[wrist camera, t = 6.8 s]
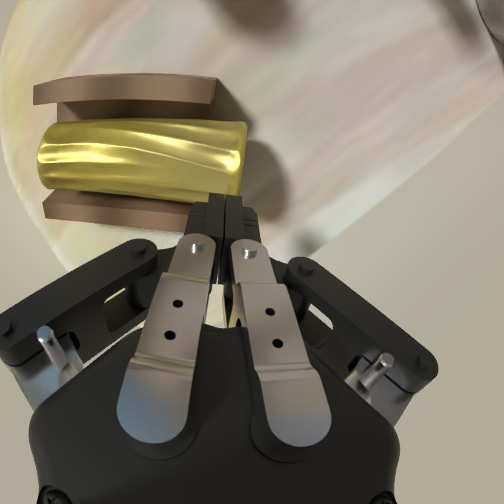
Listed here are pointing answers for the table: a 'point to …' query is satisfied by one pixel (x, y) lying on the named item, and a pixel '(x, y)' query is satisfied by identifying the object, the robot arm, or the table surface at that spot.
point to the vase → (145, 157)
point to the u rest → (116, 107)
